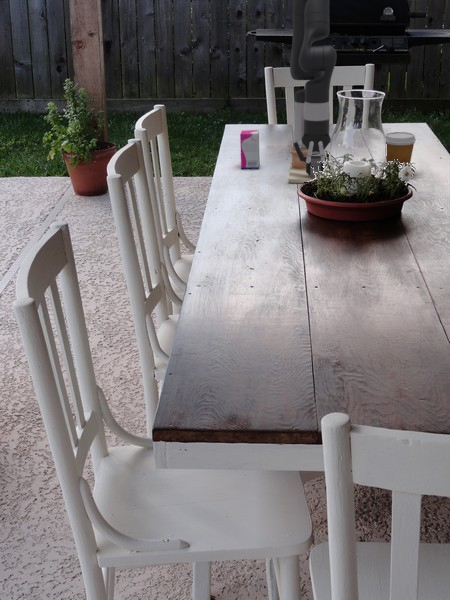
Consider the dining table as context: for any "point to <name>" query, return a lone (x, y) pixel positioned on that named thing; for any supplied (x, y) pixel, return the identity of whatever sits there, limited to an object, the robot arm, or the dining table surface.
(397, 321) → the dining table surface
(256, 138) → the supplement box
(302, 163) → the terracotta pot
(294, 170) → the birch board
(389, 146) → the disposable coffee cup
